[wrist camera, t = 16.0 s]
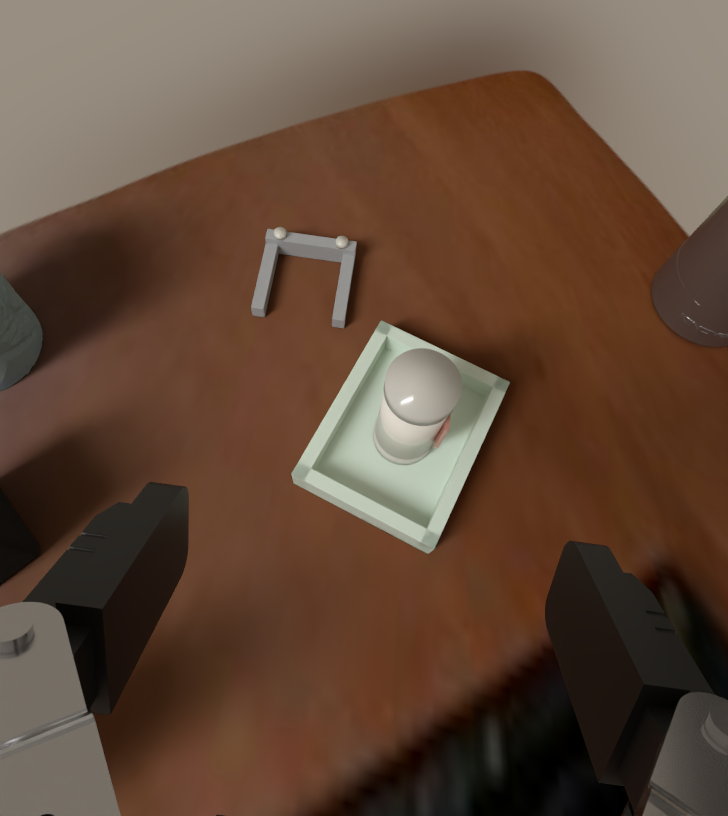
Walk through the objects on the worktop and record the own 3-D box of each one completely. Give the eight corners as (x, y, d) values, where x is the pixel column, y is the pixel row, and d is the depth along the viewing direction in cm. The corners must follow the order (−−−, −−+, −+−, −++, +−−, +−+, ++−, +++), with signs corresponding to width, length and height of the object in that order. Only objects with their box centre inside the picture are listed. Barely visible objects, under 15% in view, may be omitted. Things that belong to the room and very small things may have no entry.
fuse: (376, 404, 43) (389, 343, 34) (435, 412, 43) (464, 353, 34) (369, 461, 42) (381, 413, 32) (430, 469, 42) (460, 424, 32)
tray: (378, 336, 46) (381, 320, 44) (500, 395, 45) (510, 382, 43) (293, 483, 41) (291, 474, 39) (427, 553, 40) (434, 549, 38)
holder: (269, 242, 49) (266, 225, 47) (355, 254, 49) (356, 237, 47) (252, 315, 46) (249, 300, 44) (344, 328, 46) (344, 313, 44)
